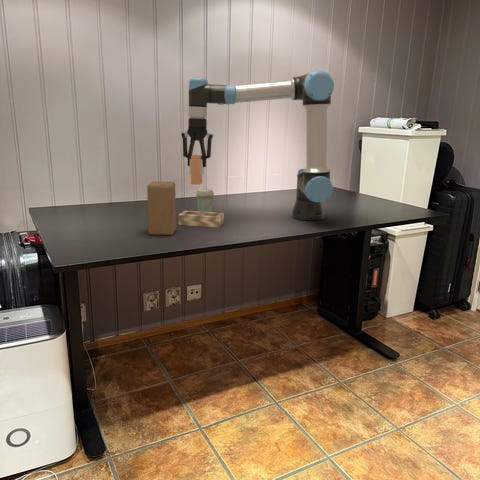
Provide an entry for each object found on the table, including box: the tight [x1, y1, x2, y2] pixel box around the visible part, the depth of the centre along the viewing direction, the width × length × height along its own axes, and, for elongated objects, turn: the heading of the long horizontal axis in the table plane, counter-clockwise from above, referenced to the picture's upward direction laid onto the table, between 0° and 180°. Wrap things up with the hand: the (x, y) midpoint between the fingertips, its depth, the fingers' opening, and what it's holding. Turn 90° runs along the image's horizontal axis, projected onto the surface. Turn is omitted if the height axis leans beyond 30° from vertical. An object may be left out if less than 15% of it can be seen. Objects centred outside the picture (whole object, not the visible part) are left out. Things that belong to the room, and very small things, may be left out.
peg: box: [190, 154, 203, 186], centre depth 199 cm, size 4×4×12 cm
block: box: [146, 180, 177, 236], centre depth 187 cm, size 10×10×20 cm
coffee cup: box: [195, 188, 215, 212], centre depth 220 cm, size 8×8×12 cm
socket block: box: [178, 210, 225, 229], centre depth 204 cm, size 18×9×4 cm, turn 80°
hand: (196, 174), depth 200 cm, fingers closed on peg, 4 cm apart
